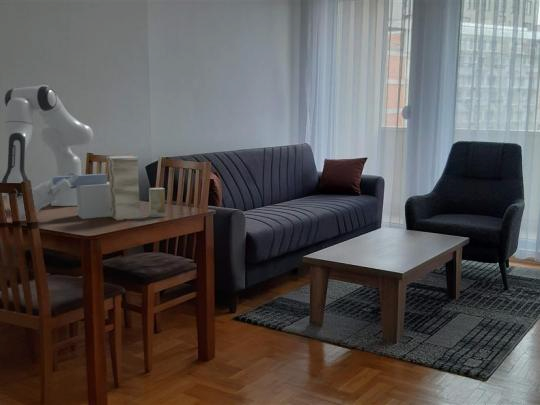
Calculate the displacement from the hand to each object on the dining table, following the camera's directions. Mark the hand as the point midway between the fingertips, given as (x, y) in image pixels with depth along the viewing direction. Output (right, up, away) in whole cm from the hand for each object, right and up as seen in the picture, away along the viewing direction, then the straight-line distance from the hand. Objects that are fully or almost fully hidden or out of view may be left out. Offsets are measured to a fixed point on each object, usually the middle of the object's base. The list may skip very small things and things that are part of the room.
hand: (75, 174), depth 265 cm
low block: (+7, -18, +7) cm, 20 cm away
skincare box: (+35, -18, +4) cm, 39 cm away
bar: (+2, -4, +2) cm, 5 cm away
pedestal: (+21, -18, +1) cm, 28 cm away
